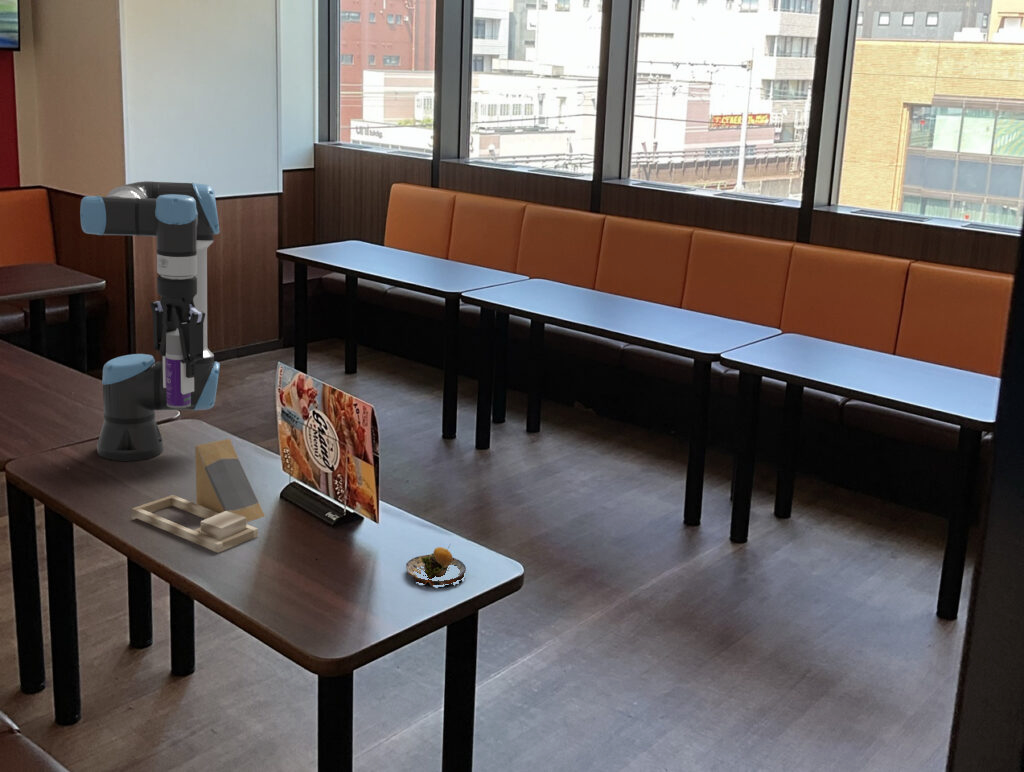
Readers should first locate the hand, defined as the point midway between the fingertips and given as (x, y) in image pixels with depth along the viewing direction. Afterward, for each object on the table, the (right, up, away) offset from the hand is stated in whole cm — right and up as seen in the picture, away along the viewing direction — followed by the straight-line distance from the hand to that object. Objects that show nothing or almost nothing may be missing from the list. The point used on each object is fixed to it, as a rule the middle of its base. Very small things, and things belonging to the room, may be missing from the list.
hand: (178, 389), depth 217 cm
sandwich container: (+8, -28, +11) cm, 31 cm away
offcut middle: (+9, -30, -2) cm, 31 cm away
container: (0, -3, +1) cm, 4 cm away
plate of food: (+52, -36, -8) cm, 64 cm away
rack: (+2, -29, +3) cm, 29 cm away
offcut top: (+10, -28, -2) cm, 30 cm away
